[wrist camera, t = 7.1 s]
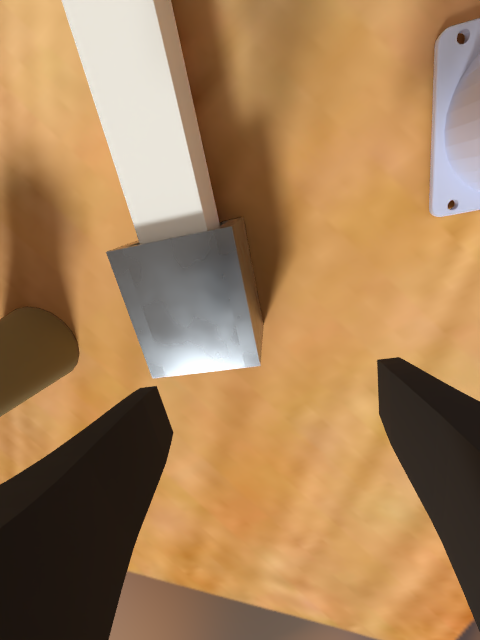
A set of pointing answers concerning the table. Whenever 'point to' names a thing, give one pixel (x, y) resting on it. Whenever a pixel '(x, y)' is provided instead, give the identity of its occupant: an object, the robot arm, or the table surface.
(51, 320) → the olive game pawn
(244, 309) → the metal block
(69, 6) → the long white plank
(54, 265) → the table surface
